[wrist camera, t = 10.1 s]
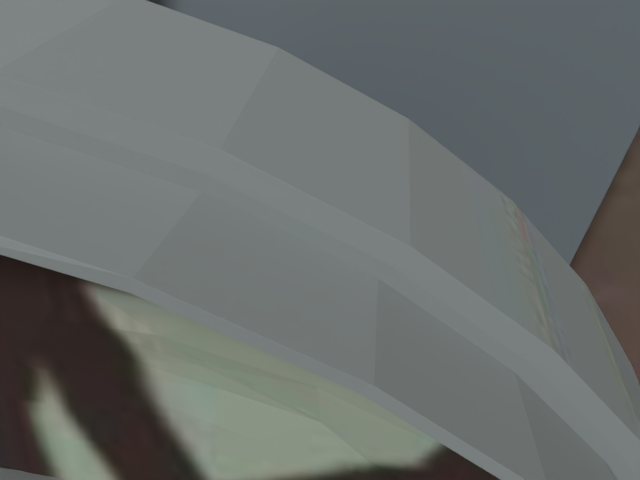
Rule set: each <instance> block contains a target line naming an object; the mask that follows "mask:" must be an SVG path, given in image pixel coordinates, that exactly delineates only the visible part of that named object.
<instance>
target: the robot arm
mask: <svg viewBox="0 0 640 480" xmlns="http://www.w3.org/2000/svg"><path fill="white" fill-rule="evenodd" d="M0 480H66V479H61V478H55V477H50V476H44V475H39V474H33V473H27V472H24V471H20V470H14V469H9V468H4V467H0Z"/></svg>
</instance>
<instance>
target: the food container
mask: <svg viewBox="0 0 640 480" xmlns="http://www.w3.org/2000/svg"><path fill="white" fill-rule="evenodd" d="M0 467H4V468H9V469H14V470H20V471H24V472H27V473H33V474H39V475H44V476H50V477H55V478H61V479H66V480H640V385H639V382H638V380H637V377H636V375H635V372H634V370H633V367H632V365H631V363H630V361H629V360H628V358H627V356H626V354H625V353H624V351H623V349H622V347H621V346H620V344H619V342H618V340H617V338H616V337H615V335H614V333H613V331H612V330H611V328H610V326H609V324H608V323H607V321H606V319H605V317H604V315H603V314H602V312H601V310H600V308H599V307H598V305H597V303H596V301H595V300H594V298H593V296H592V294H591V293H590V291H589V289H588V287H587V285H586V284H585V283H584V282H583V280H582V279H581V278H580V277H579V276H578V275H577V274H576V273H575V271H574V270H573V269H572V268H571V267H570V266H569V265H568V263H567V262H566V261H565V260H564V259H563V258H562V257H561V255H560V254H559V253H558V252H557V251H556V250H555V249H554V247H553V246H552V245H551V244H550V243H549V242H548V241H547V240H546V238H545V237H544V236H543V235H542V234H541V233H540V232H539V230H538V229H537V228H536V227H535V226H534V225H533V224H532V222H531V221H530V220H529V219H528V218H527V217H526V216H525V214H524V213H523V212H522V211H521V210H520V209H519V208H518V207H517V205H516V204H515V203H514V202H513V201H512V200H511V199H510V198H509V197H507V196H506V195H505V194H503V193H502V192H501V191H500V190H498V189H497V188H496V187H495V186H493V185H492V184H491V183H490V182H488V181H487V180H486V179H484V178H483V177H482V176H481V175H479V174H478V173H477V172H476V171H474V170H473V169H472V168H470V167H469V166H468V165H467V164H465V163H464V162H463V161H462V160H460V159H459V158H458V157H457V156H455V155H454V154H453V153H451V152H450V151H449V150H448V149H446V148H445V147H444V146H443V145H441V144H440V143H439V142H438V141H436V140H435V139H434V138H432V137H431V136H430V135H429V134H427V133H426V132H425V131H424V130H422V129H421V128H420V127H419V126H417V125H416V124H415V123H413V122H412V121H411V120H410V119H408V118H406V117H405V116H403V115H401V114H399V113H397V112H395V111H394V110H392V109H390V108H388V107H386V106H385V105H383V104H381V103H379V102H377V101H375V100H374V99H372V98H370V97H368V96H366V95H364V94H363V93H361V92H359V91H357V90H355V89H354V88H352V87H350V86H348V85H346V84H344V83H343V82H341V81H339V80H337V79H335V78H333V77H332V76H330V75H328V74H326V73H324V72H323V71H321V70H319V69H317V68H315V67H313V66H312V65H310V64H308V63H306V62H304V61H302V60H301V59H299V58H297V57H295V56H293V55H292V54H290V53H288V52H286V51H284V50H282V49H281V48H279V47H276V46H273V45H270V44H268V43H265V42H262V41H259V40H256V39H254V38H251V37H248V36H245V35H242V34H239V33H237V32H234V31H231V30H228V29H225V28H223V27H220V26H217V25H214V24H211V23H209V22H206V21H203V20H200V19H197V18H195V17H192V16H189V15H186V14H183V13H181V12H178V11H175V10H172V9H169V8H167V7H164V6H161V5H158V4H155V3H152V2H150V1H147V0H0Z"/></svg>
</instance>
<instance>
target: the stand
mask: <svg viewBox="0 0 640 480" xmlns="http://www.w3.org/2000/svg"><path fill="white" fill-rule="evenodd" d="M147 1H150V2H152V3H155V4H158V5H161V6H164V7H167V8H169V9H172V10H175V11H178V12H181V13H183V14H186V15H189V16H192V17H195V18H197V19H200V20H203V21H206V22H209V23H211V24H214V25H217V26H220V27H223V28H225V29H228V30H231V31H234V32H237V33H239V34H242V35H245V36H248V37H251V38H254V39H256V40H259V41H262V42H265V43H268V44H270V45H273V46H276V47H279V48H281V49H282V50H284V51H286V52H288V53H290V54H292V55H293V56H295V57H297V58H299V59H301V60H302V61H304V62H306V63H308V64H310V65H312V66H313V67H315V68H317V69H319V70H321V71H323V72H324V73H326V74H328V75H330V76H332V77H333V78H335V79H337V80H339V81H341V82H343V83H344V84H346V85H348V86H350V87H352V88H354V89H355V90H357V91H359V92H361V93H363V94H364V95H366V96H368V97H370V98H372V99H374V100H375V101H377V102H379V103H381V104H383V105H385V106H386V107H388V108H390V109H392V110H394V111H395V112H397V113H399V114H401V115H403V116H405V117H406V118H408V119H410V120H411V121H412V122H413V123H415V124H416V125H417V126H419V127H420V128H421V129H422V130H424V131H425V132H426V133H427V134H429V135H430V136H431V137H432V138H434V139H435V140H436V141H438V142H439V143H440V144H441V145H443V146H444V147H445V148H446V149H448V150H449V151H450V152H451V153H453V154H454V155H455V156H457V157H458V158H459V159H460V160H462V161H463V162H464V163H465V164H467V165H468V166H469V167H470V168H472V169H473V170H474V171H476V172H477V173H478V174H479V175H481V176H482V177H483V178H484V179H486V180H487V181H488V182H490V183H491V184H492V185H493V186H495V187H496V188H497V189H498V190H500V191H501V192H502V193H503V194H505V195H506V196H507V197H509V198H510V199H511V200H512V201H513V202H514V203H515V204H516V205H517V207H518V208H519V209H520V210H521V211H522V212H523V213H524V214H525V216H526V217H527V218H528V219H529V220H530V221H531V222H532V224H533V225H534V226H535V227H536V228H537V229H538V230H539V232H540V233H541V234H542V235H543V236H544V237H545V238H546V240H547V241H548V242H549V243H550V244H551V245H552V246H553V247H554V249H555V250H556V251H557V252H558V253H559V254H560V255H561V257H562V258H563V259H564V260H565V261H566V262H567V263H568V265H570V263H571V261H572V259H573V257H574V255H575V253H576V251H577V249H578V247H579V245H580V243H581V241H582V239H583V237H584V235H585V233H586V231H587V229H588V227H589V226H590V224H591V222H592V220H593V218H594V216H595V214H596V212H597V210H598V208H599V206H600V204H601V202H602V200H603V198H604V196H605V194H606V192H607V190H608V188H609V186H610V184H611V182H612V180H613V178H614V176H615V174H616V172H617V170H618V168H619V166H620V164H621V162H622V160H623V158H624V156H625V154H626V152H627V150H628V148H629V146H630V144H631V142H632V140H633V138H634V137H635V135H636V133H637V131H638V129H639V127H640V0H147Z"/></svg>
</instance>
